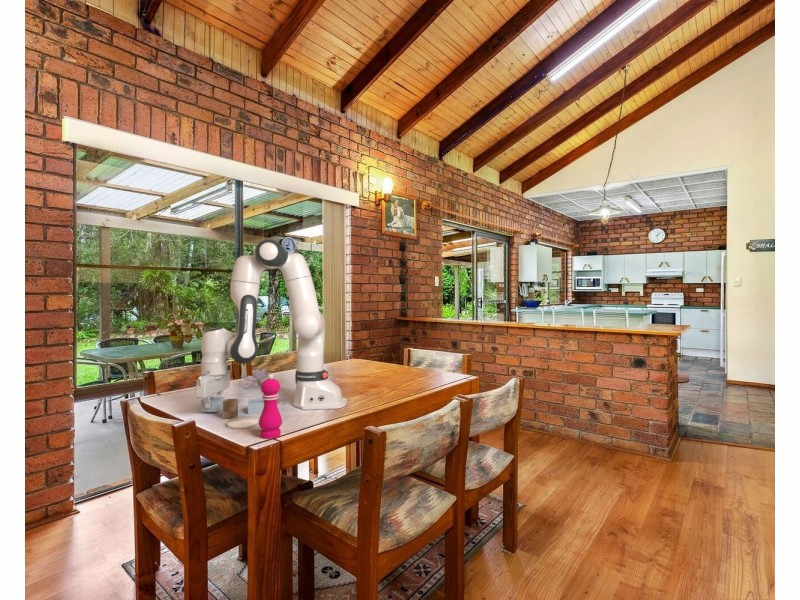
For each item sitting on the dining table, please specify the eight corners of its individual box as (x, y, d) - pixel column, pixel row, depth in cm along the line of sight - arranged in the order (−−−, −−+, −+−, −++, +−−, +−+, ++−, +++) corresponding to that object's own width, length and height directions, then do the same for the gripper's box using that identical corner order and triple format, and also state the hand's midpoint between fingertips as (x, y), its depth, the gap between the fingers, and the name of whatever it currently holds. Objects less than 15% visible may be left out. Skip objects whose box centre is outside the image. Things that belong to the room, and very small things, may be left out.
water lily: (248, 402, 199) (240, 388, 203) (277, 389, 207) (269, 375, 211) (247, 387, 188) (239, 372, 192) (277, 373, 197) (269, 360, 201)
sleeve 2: (265, 408, 164) (265, 398, 164) (265, 412, 158) (265, 402, 158) (248, 409, 162) (248, 399, 162) (247, 414, 156) (247, 403, 156)
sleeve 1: (224, 407, 162) (224, 397, 162) (216, 411, 155) (217, 401, 155) (209, 407, 162) (209, 396, 162) (200, 411, 156) (201, 400, 156)
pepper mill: (266, 441, 127) (266, 377, 127) (254, 435, 132) (254, 374, 132) (286, 435, 133) (286, 374, 133) (274, 430, 138) (274, 371, 137)
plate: (262, 419, 149) (262, 416, 149) (251, 428, 139) (251, 425, 139) (234, 419, 150) (234, 415, 150) (221, 428, 139) (221, 424, 139)
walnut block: (237, 416, 154) (237, 398, 154) (233, 419, 150) (233, 401, 150) (227, 416, 154) (227, 398, 154) (222, 419, 150) (222, 401, 150)
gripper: (207, 374, 148) (207, 412, 148) (233, 364, 168) (233, 398, 169) (190, 374, 148) (190, 412, 148) (218, 364, 169) (218, 398, 169)
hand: (213, 404), depth 159 cm, fingers closed on sleeve 1, 6 cm apart
